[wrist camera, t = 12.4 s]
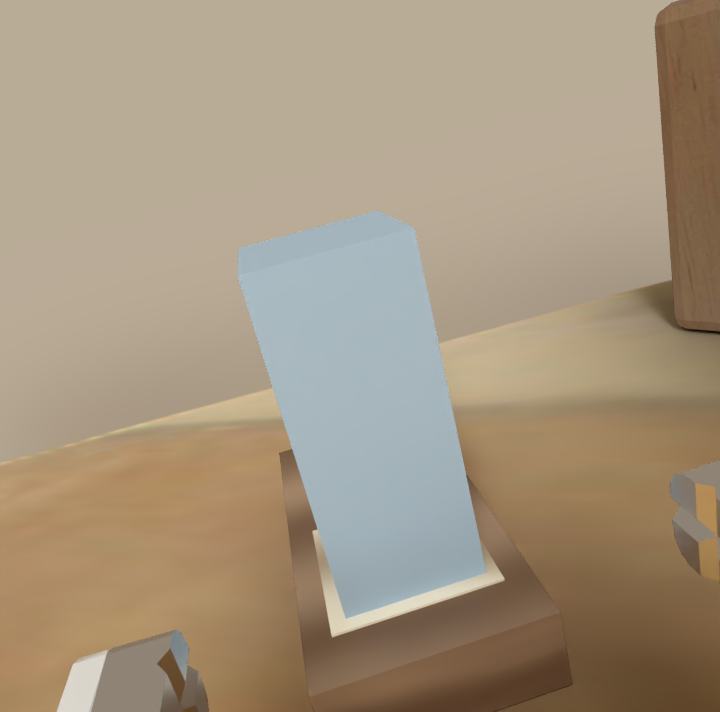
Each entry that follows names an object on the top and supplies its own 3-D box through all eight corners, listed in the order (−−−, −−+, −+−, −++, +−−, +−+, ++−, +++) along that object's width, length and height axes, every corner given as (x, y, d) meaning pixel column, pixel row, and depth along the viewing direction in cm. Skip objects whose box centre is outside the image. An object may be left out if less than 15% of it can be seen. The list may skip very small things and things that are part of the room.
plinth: (572, 684, 20) (560, 609, 19) (333, 767, 20) (307, 694, 19) (433, 457, 35) (421, 408, 34) (294, 500, 35) (278, 451, 34)
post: (486, 572, 22) (414, 227, 18) (345, 618, 21) (237, 276, 17) (443, 497, 26) (378, 210, 22) (327, 533, 26) (238, 248, 22)
